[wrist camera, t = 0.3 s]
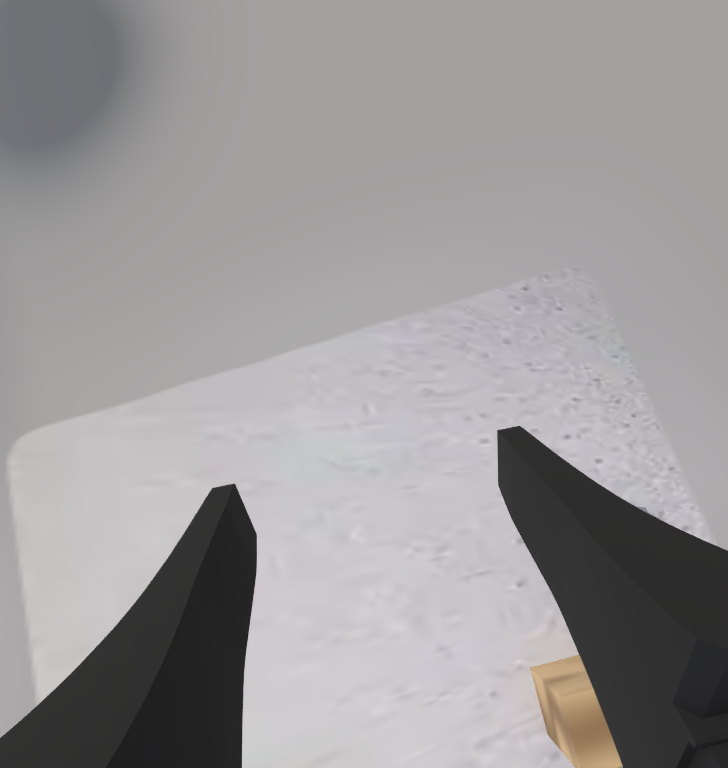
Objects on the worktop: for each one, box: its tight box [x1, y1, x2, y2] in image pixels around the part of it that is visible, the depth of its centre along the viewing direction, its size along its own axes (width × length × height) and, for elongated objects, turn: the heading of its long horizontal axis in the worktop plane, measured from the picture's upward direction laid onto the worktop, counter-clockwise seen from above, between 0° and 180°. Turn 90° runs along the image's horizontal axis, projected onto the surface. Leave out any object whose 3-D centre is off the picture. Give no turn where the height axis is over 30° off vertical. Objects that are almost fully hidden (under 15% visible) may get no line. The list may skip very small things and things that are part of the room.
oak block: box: [530, 655, 623, 768], centre depth 36 cm, size 5×5×6 cm
